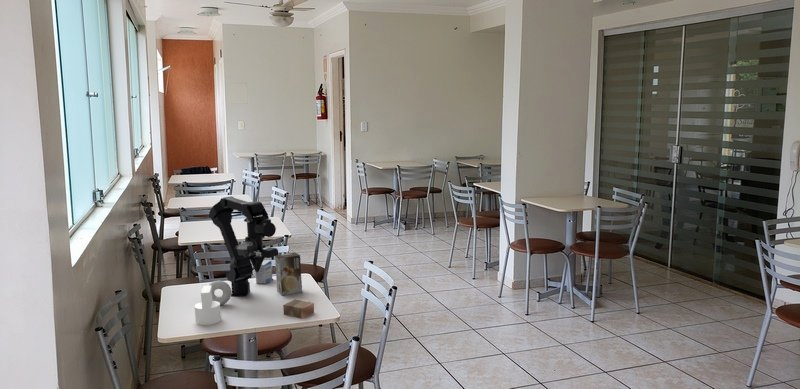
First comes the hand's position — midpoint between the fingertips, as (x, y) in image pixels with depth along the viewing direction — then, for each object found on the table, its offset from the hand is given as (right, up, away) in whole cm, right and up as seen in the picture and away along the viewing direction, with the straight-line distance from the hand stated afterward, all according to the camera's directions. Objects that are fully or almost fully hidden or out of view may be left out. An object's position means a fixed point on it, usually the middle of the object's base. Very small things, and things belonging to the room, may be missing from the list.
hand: (257, 271), depth 248 cm
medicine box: (-3, -8, +28) cm, 29 cm away
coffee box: (+11, -10, +12) cm, 19 cm away
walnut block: (+15, -12, -12) cm, 23 cm away
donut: (-14, -13, -3) cm, 20 cm away
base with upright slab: (-13, -16, -20) cm, 29 cm away
